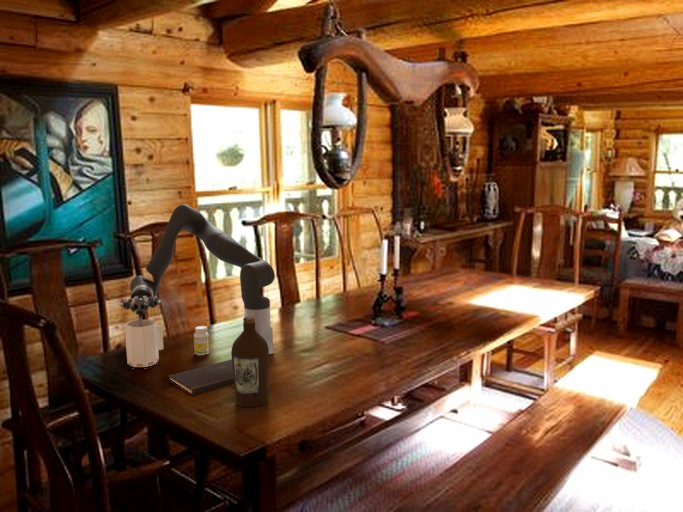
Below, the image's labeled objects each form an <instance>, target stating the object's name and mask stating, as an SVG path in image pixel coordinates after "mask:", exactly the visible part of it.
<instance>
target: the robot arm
mask: <svg viewBox="0 0 683 512" xmlns="http://www.w3.org/2000/svg"><path fill="white" fill-rule="evenodd" d="M182 230H183V231H185V232H188V233H190V234H192V235H194V236H196V237H197V238H199V240H201V242H203V244H204V246H205V248H206V249H207V250H208V251H209V253H211V254H212V255H213V256H214V257H215V258H217V259H218V260H220V261H222V262H224V263H226V264H229V265H233V266H236V267H239V268H241V269H240V271H239V282H240V283H239V285H240V294H241V299H242V302H243V312H244V313H243V314H244V317H248V316H252V317H254V318H255V320H254V322H255V330H256V331H257V332H258V333H259V334H260V335H261V336H262V337H263V338H264V339H265V340H266V342H267V344H268V348H269V356H270V355H272V354H274V334H273V333H274V329H273V328H272V325H271V301H270V298H269V297H267V296H262V295H261V294H262V293H261V288H264V287H267V286H268V287H269V286H271V284H273V283H274V281H275V277H276V274H275V271H274V268H273V266H272V265H271V264H270V263H268V262H267V261H266V260H264V259H263V258H261V257H259V256H258V255H256V254H254V253H253V252H251V251H250V250H249V249H247V248H246V247H244V246H243V245H242V244H240V243H239V242H238V241H237V240H236V239H234V238H233V237H231V236H230V235H229V234H228V233H226V232H225V231H223V230H222V229H220V228H219V227H216V226H215V225H214V224H212V223H211V222H210V221H209V220H208V219H207V218H206V217H205V216H204V215H203V213H201V212H200V211H199V210H197V209H195V208H193V207H191V206H189V205H187V204H185V203H183V204H180V205H177V207H175V209H174V210H173V211H172V214H171V215H170V217H169V220H168V223H167V225H166V228H165V230H164V232H163V235H162V237H161V239H160V242H159V244H158V246H157V248H156V250H155V252H153V253H154V254H153V255H152V256H151V258H150V260H149V261H148V263H147V265H146V267H145V270H146V272H147V273H148V274H150V275H151V276H152V277H153V280H151V279H149V278H147V277H145V276H143V275H137V276H135V277H133V278H132V280H131V282H130V285H129V290H130V292H131V295H130V297H129V298H128V300H127V299H124V298H123V299H122V298H121V299H120V306H121V308H123V309H125V310H128V311H129V310H130V311H132V312H134V313H135V300H134V299H136V298H144V311H145V312H146V311H147V310H149V308H152V309H154V308H155V307H158V306H159V305H161V302H162V301H161V296H157V295H158V294H159V293H158V292H159V289H160V284H161V281H162V278H163V276H164V274H165V273H166V271H167V269H168V268H169V266H170V264H171V262H172V261H173V258H174V253H175V244H176V239H177V237H178V235H179V234H180V232H181V231H182ZM244 317H243V318H244Z"/></svg>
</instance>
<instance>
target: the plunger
mask: <svg viewBox="0 0 683 512" xmlns="http://www.w3.org/2000/svg"><path fill="white" fill-rule="evenodd" d="M134 300H135V312H134V313H135V315H138V320H139V327H142V326H143V321H142V320H143V315H144V314H145V312H146V311H144V298H136V299H134Z"/></svg>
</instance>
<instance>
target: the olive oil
mask: <svg viewBox="0 0 683 512" xmlns="http://www.w3.org/2000/svg"><path fill="white" fill-rule="evenodd" d="M242 320H243V323H242V327H243V328H242V329H243V330H242V332H240V334H239V335H238V336H237V338H236V339H235V340H234V341H233V343H232V346H231V351H230V352H231V354H230V355H231V359H232V364H233V375H234V383H233V385H234V386H233V387H234V397H235V398H234V401H235V404H236V405H237V406H239V407H243V408H257V407H260V406H263V405H265V404H266V403H268V400H269V362H270V359H269V358H270V355H269V348H268V344H267V342H266V340H265V339H264V338H263V337H262V336H261V335H260V334H259V333H258V332H257V331H256V330H255V322H254V320H255V318H254V317H252V316H248V317H243V318H242Z"/></svg>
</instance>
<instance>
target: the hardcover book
mask: <svg viewBox="0 0 683 512" xmlns="http://www.w3.org/2000/svg"><path fill="white" fill-rule="evenodd" d="M168 377H169V380H172V381H173V382H175V383H176V384H178V385H179V386H181V387H182V388H181V387H180V388H181V389H183V388H184V389H185V391H186V390H187V391H188V393H189V392H190V393H189V394H191V393H192V394H191V395H192V396H194V394H195V395H198V393H199V394H202V393H206V392H208V390H209V391H212V390H211V389H213V390H216V389H219V387H220V388H222V387H225V386H226V385H227V386H230V385H234V375H233V364H232V358H230V359H227V360H224V361H219V362H216V363H212V364H209V365H204V366H201V367H196V368H193V369H188V370H185V371H180V372H177V373H173V374H169V375H168ZM172 381H171V382H172ZM173 382H172V383H173ZM175 383H174V384H175ZM176 384H175V385H176ZM178 385H177V386H178ZM179 386H178V387H179ZM227 386H226V387H227ZM215 388H216V389H215ZM184 389H183V390H184ZM187 391H186V392H187ZM205 391H206V392H205ZM201 392H202V393H201Z"/></svg>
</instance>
